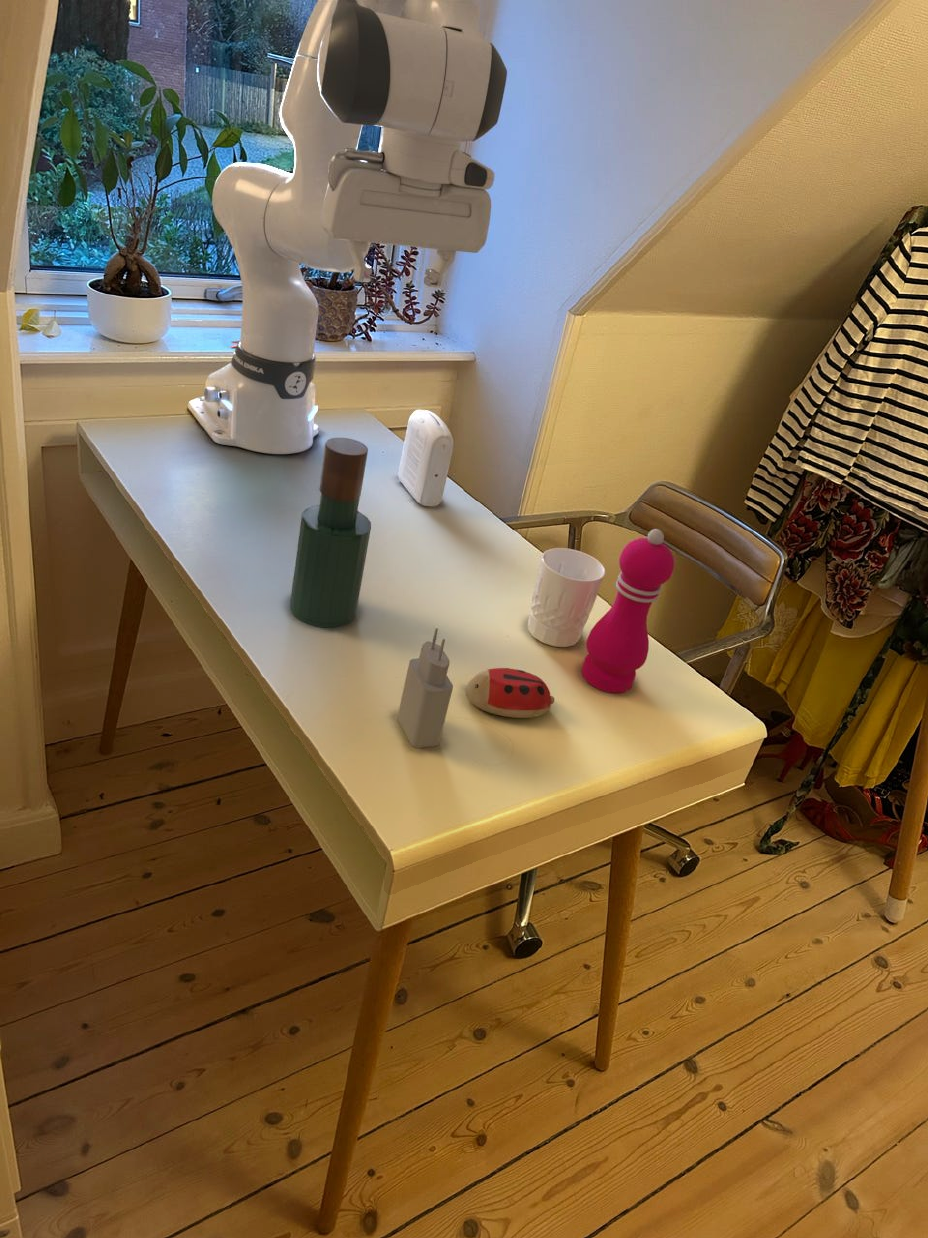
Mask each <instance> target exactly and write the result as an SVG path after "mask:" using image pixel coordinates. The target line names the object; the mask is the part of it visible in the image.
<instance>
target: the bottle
mask: <svg viewBox="0 0 928 1238" xmlns="http://www.w3.org/2000/svg"><path fill="white" fill-rule="evenodd" d="M359 504H360V498H359V499H357V500H355V501H348V502H344V501H336V500H333V499H330V498H327V497H325V496H324V495H322V494H321V493H320V499H319V504H315V505H311V506H309V507H307V508H305V509H304V511H303V512H302V513H301V518H300V525H299V533H298V541H297V549H296V556H295V563H294V564H295V565H294V571H293V577H292V586H291V593H290V594H291V595H290V602H289V608H290V609H289V610H290V612H291V614H292V615H293V616H294V617H296V618H297V620H300V621H301V622H303V623H305V624H307V625H310V626H314V627H319V628H325V629H326V628H327V629H328V628H329V629H331V628H340V627H343V626H346V625H348V624H350V623H351V622H352V621H354V619H355V617H356V614H357V611H358V605H359V600H360V593H361V588H362V582H363V576H364V572H365V571H364V570H365V565H366V558H367V554H368V548H369V542H370V537H371V532H372V531H371V530H372V522H371V521H370V519H369V518H368V516H366V515H365V514H363V513H362V512H360V511H358V510H359V506H360V505H359Z"/></svg>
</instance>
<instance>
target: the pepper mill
mask: <svg viewBox="0 0 928 1238" xmlns="http://www.w3.org/2000/svg"><path fill="white" fill-rule="evenodd" d="M664 540H665V534H664V533H663V531H662V530H660V529H658V528H653V529H651V530H650V531H648V534H647V537H640V538H636V539H633V540H631V541H629V542H628V543H627V544H626V545H625V546H624V548H623V549H622V551H621V553H620V555H619V560H618V563H619V569H620V571H621V572H620V573H619V574H617V580H616V582H615V588H616V590H617V592H616V597H615V599H614V602H613V603H612V606H611V607H610V608H609V610H608V611H607V612H606V613H605V614H604V615H603V616H602V617H601V618H600V619H599V620H598V621H597V622H596V623H595V624H594V625H593V627H592V628H591V630H589V631H590V632H589V634H588V636H587V638H586V640H585V641H586V643H585V647H586V651H587V655H585V658H584V660H583V663H582V666H581V675H582V678H583V679H584V680H585V682H587V683H588V684H589V685H591V686H592V687H594V688H595V689H597V690H599V691H601V692H602V691H603V692H606V693H610V694H622V693H625V692H627V691H629V690H630V689H632V687H633V684H634V681H635V679H636V676H637V672H636V671H637V670H638V669H641V667H643V666H644V665H645V663H646V661H647V658H648V655H649V647H650V646H649V645H650V640H649V634H648V624H647V620H648V614H649V611H650V608H651V606H652V604H653V602H656V601H657V600H658V599H659V598H660V593H661V592H662V585H664V584H665V583H667V582H668V581H669V580H670V579H671V577H672V575H673V573H674V570H675V558H674V555H673V552H672V551H671V550H670V548H669V547H668V546H667V545H665V544H664V543H663V542H664Z"/></svg>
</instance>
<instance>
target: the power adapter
mask: <svg viewBox="0 0 928 1238" xmlns="http://www.w3.org/2000/svg"><path fill="white" fill-rule="evenodd" d="M438 631H439V628H438V627H436V628H435V630H434V633H433V637H432V641H429V640H427V641H425V642H423V644H422V645H421V648H420V652H419V657H418V658H417V657H416V658H411V659H410V660H409V661H408V666H407V671H406V675H405V680H404V685H403V690H402V693H401V697H400V698H401V699H400V704H399V708H398V712H397V721H398V723H399V725H400V727H401V728H402V731H403V733H404V734H405V736H406V738H407V740H408V741H409V743H410V745H411V746H412V747H414V748H417V749H421V748H423V749H424V748H432V747H437V746H438V745H439V744H440V742H441V738H442V734H443V730H444V726H445V721H446V717H447V714H448V709H449V706H450V701H451V697H452V693H453V689H454V685H453V682H452V681H451V680H450V677H449V676H448V671H449V667H450V663H451V660H450V658H449V657H448V655H447V654H446V652H445V651H444V646H445V642H446V638H442V639H441V644H440V645H439V644H438V643H436V641H437V636H438Z"/></svg>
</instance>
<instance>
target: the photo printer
mask: <svg viewBox="0 0 928 1238" xmlns="http://www.w3.org/2000/svg"><path fill="white" fill-rule="evenodd" d="M454 443H455V442H454V439H453V436H452V433H451V430H450V429H449V427H448V426H447V424H446V423H445V422H444V421H443V420H442V419H441V418H440V417H439V415H437V414H436V413H434V411H433V412H432V411H430V410H428V409H416V410H414V411H413V412H412V413H411V414H410V416H409V418H408V421H407V427H406V431H405V437H404V442H403V446H402V453H401V457H400V462H399V467H398V474H397V475H398V476H397V477H398V480H399V481H400V483H402V485H403V486H404V488H405V489H406V490H407V491H408V493H409V494H410V496H411V497H412V498H413V499H414V500H415V501H416V502H417V503H418V504H420V505H422V506H423V507H436V506H438V505H439V504H441V503H442V500H443V495H444V492H445V486H446V483H447V478H448V474H449V468H450V465H451V459H452V455H453V453H454Z"/></svg>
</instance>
